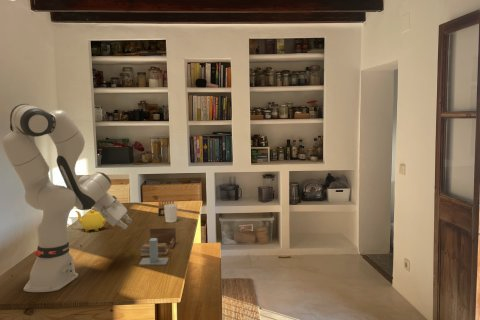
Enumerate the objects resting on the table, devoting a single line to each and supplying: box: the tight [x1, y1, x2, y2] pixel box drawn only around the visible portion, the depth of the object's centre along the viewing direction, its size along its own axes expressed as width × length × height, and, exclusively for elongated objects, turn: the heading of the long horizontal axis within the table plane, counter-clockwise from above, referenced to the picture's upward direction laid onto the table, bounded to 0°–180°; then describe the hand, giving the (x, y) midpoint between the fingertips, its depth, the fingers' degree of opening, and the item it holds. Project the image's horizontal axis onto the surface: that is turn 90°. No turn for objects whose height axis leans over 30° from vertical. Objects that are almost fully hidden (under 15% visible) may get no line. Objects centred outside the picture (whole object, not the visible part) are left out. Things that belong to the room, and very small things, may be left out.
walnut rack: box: [149, 227, 177, 249], centre depth 221 cm, size 10×13×8 cm
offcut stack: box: [140, 242, 169, 257], centre depth 208 cm, size 5×12×4 cm, turn 91°
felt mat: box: [138, 257, 170, 266], centre depth 197 cm, size 8×12×1 cm, turn 91°
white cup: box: [164, 203, 178, 223], centre depth 270 cm, size 8×8×10 cm
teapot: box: [75, 209, 107, 232], centre depth 255 cm, size 20×15×12 cm
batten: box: [148, 238, 159, 263], centre depth 197 cm, size 4×3×10 cm
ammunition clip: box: [157, 197, 175, 217], centre depth 285 cm, size 11×2×12 cm, turn 89°
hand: (128, 225), depth 198 cm, fingers open, 8 cm apart
